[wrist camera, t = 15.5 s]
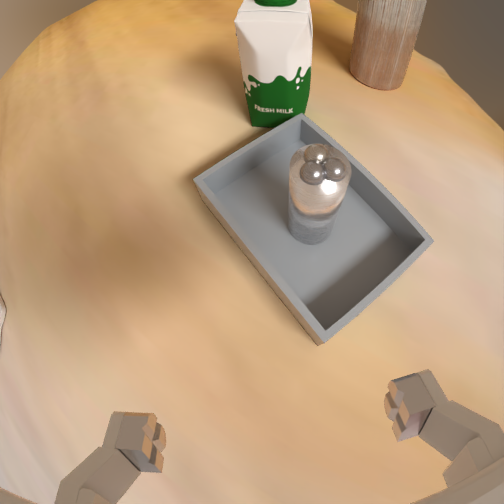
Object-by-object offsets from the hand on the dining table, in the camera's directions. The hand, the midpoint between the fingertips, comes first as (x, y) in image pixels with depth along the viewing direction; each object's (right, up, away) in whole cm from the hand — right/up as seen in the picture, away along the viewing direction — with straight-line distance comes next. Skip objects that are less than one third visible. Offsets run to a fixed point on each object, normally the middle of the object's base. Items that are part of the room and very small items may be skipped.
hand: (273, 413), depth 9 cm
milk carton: (+3, +26, +33) cm, 43 cm away
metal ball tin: (+6, +9, +26) cm, 28 cm away
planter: (+21, +37, +36) cm, 55 cm away
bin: (+6, +8, +27) cm, 28 cm away
